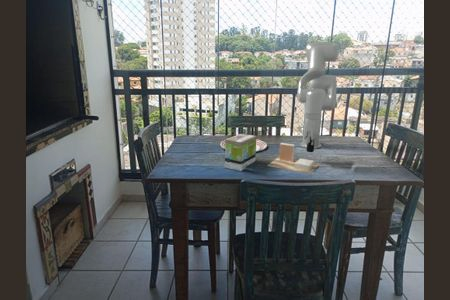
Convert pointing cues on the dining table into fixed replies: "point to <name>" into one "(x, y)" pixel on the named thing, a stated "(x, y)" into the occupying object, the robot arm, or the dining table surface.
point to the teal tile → (304, 164)
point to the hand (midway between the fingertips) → (310, 151)
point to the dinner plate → (258, 145)
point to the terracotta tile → (286, 152)
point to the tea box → (240, 151)
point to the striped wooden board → (290, 165)
